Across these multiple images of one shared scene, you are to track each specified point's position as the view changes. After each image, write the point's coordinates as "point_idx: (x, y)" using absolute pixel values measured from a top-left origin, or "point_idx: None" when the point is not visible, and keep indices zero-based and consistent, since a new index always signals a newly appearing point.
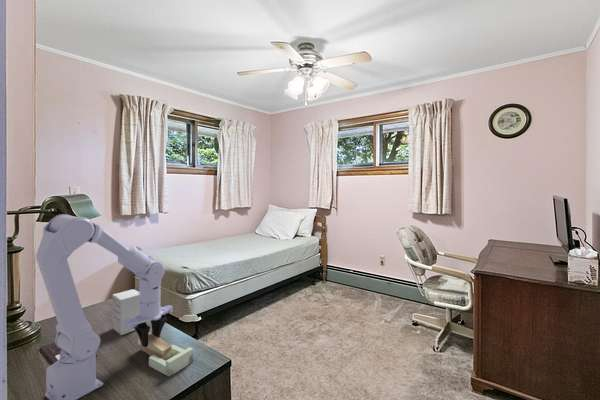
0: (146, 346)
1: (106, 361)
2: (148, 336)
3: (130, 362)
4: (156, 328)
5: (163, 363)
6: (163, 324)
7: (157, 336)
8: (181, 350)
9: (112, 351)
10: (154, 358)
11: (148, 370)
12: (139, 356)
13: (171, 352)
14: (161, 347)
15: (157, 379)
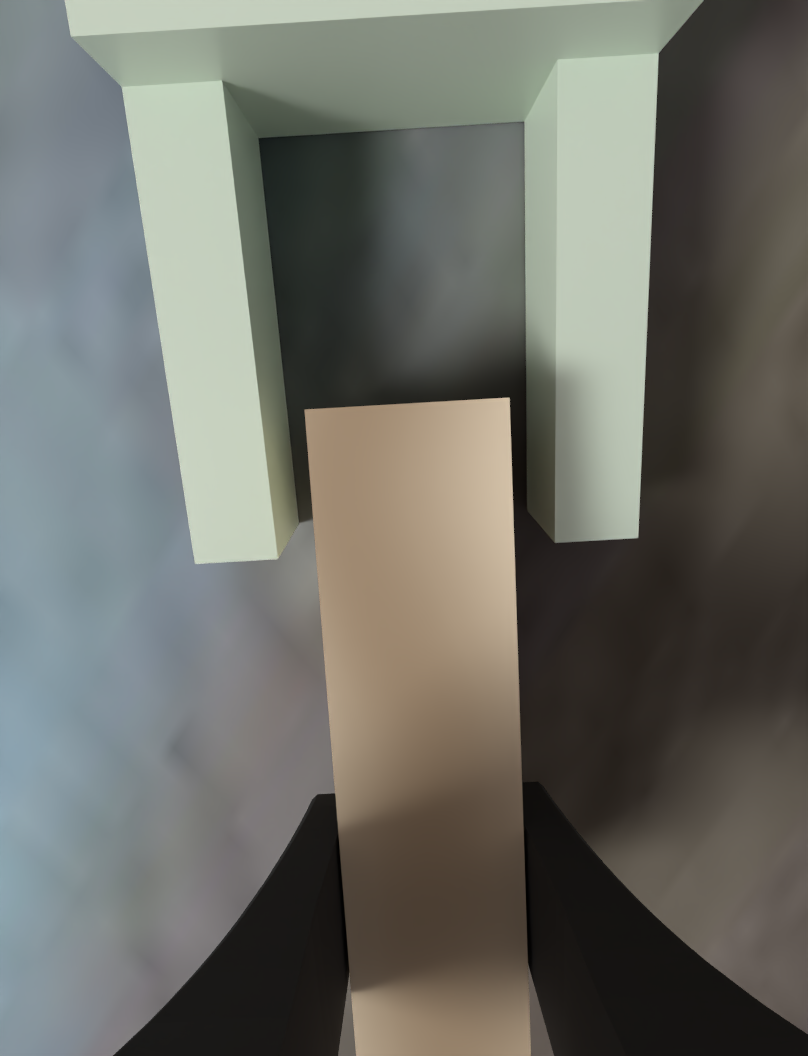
0: (530, 784)
1: (778, 931)
2: (442, 953)
3: (664, 736)
4: (313, 1032)
5: (628, 166)
6: (154, 1044)
7: (335, 850)
8: (198, 273)
9: None
10: (611, 439)
11: (657, 419)
12: (537, 766)
13: (284, 475)
14: (466, 512)
15: (725, 123)
